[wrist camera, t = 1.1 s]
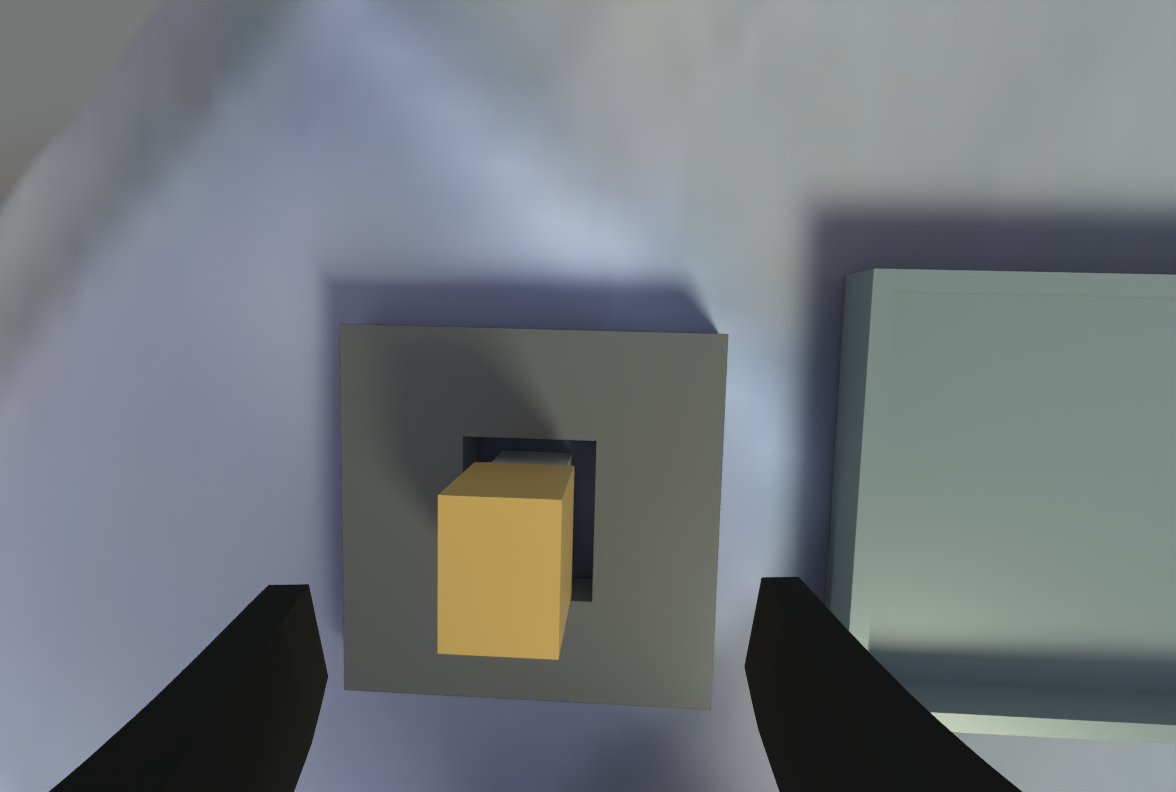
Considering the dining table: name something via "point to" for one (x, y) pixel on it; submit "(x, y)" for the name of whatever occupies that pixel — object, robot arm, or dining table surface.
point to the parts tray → (1011, 497)
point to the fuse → (506, 556)
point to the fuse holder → (622, 503)
